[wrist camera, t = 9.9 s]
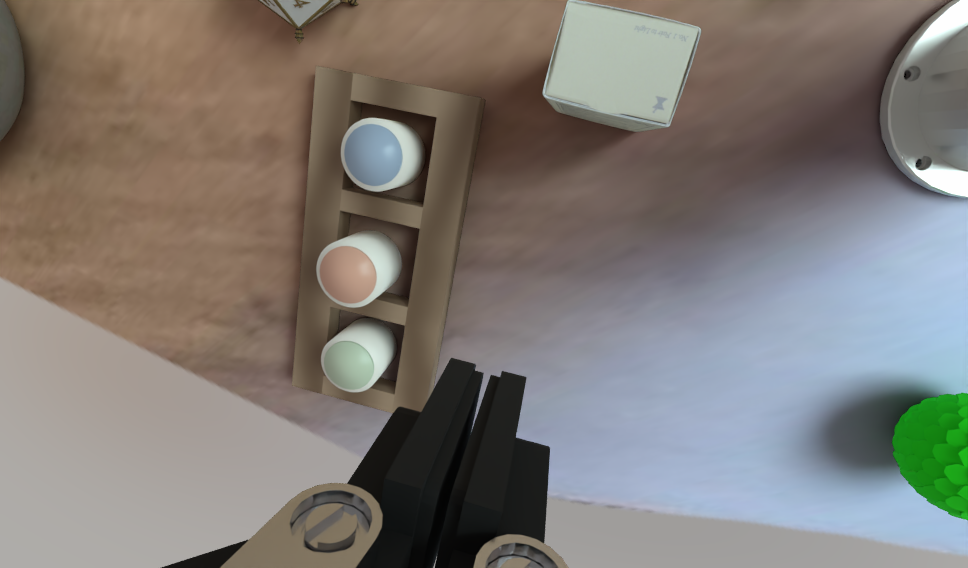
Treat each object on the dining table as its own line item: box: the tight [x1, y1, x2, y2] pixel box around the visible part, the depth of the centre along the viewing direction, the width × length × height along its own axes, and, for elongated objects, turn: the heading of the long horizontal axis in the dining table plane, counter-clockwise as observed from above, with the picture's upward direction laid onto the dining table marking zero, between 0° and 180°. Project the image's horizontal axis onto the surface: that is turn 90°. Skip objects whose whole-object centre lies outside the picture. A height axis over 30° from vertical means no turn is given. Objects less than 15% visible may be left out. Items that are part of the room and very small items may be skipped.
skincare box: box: [542, 0, 701, 132], centre depth 27 cm, size 6×4×12 cm
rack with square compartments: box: [292, 66, 485, 413], centre depth 38 cm, size 12×26×2 cm, turn 169°
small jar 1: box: [341, 118, 425, 191], centre depth 34 cm, size 5×5×4 cm
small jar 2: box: [316, 230, 402, 308], centre depth 34 cm, size 5×5×4 cm
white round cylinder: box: [321, 318, 397, 392], centre depth 39 cm, size 5×5×4 cm
